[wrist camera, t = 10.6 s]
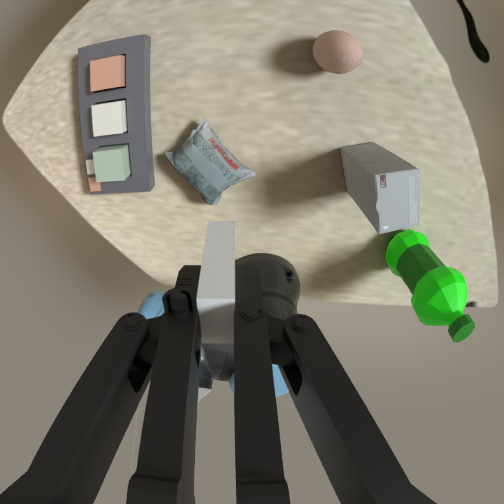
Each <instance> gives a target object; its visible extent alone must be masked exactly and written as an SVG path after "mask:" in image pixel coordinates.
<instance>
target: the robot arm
mask: <svg viewBox="0 0 504 504" xmlns="http://www.w3.org/2000/svg"><path fill="white" fill-rule="evenodd" d="M299 295H300V281H299V277H298V274H297V272H296V270H295V268H294V267H293V265H292V264H291V263H290V262H288V261H287V260H285V259H284V258H282V257H279V256H276V255H273V254H265V253H261V254H253V255H249V256H246V257H243V258H241V259H239V260H237V261H236V262H235V221H209V223H208V229H207V235H206V241H205V247H204V253H203V259H202V265H201V266H200V265H184V266H183V267H182V269H181V270H180V271H179V273H178V277H177V281H176V285H175V288H173V289H171V290H168V291H167V292H164V291H153V292H151V293H150V294H149V295H147V296H146V298H145V299H144V301H143V302H142V304H141V306H140V308H139V311H138V313H133V312H132V313H128V314H126V315H124V316H122V317H121V318H120V319H119V320H118V322H117V323H116V324H115V326H114V327H113V329H112V330H111V331H110V333H109V334H108V336H107V337H106V339H105V340H104V342H103V343H102V345H101V346H100V348H99V350H98V351H97V352H96V354H95V355H94V357H93V359H92V360H91V362H90V363H89V365H88V366H87V368H86V369H85V371H84V373H83V374H82V376H81V378H80V379H79V381H78V382H77V384H76V385H75V387H74V389H73V390H72V392H71V394H70V396H69V397H68V398H67V400H66V402H65V404H64V405H63V407H62V409H61V410H60V412H59V414H58V415H57V417H56V419H55V421H54V422H53V424H52V426H51V428H50V429H49V432H48V433H47V435H46V437H45V438H44V440H43V442H42V444H41V446H40V448H39V450H38V451H37V453H36V456H35V457H34V459H33V461H32V463H31V465H30V467H29V469H28V471H27V472H26V473H25V474H24V475H22V476H21V477H20V478H19V479H18V480H17V481H15V482H14V483H13V484H12V485H11V486H10V487H8V488H7V489H6V490H5V491H4V492H3V493H2V494H0V504H93V503H94V501H95V499H96V497H97V494H98V492H99V489H100V487H101V485H102V483H103V481H104V478H105V476H106V474H107V471H108V469H109V467H110V465H111V463H112V460H113V458H114V456H115V454H116V452H117V449H118V447H119V445H120V443H121V441H122V439H123V436H124V434H125V432H126V430H127V428H128V426H129V424H130V421H131V419H132V417H133V415H134V413H135V411H136V409H137V407H138V411H137V417H136V425H135V433H134V441H133V450H132V459H131V471H130V480H129V484H128V491H127V500H126V504H195V497H194V466H195V442H196V441H195V440H196V421H197V411H198V404H199V400H200V399H201V398H202V397H204V396H205V395H206V394H208V393H209V392H210V391H211V388H212V381H213V379H214V380H221V381H227V382H229V384H230V388H231V389H232V391H233V393H234V412H235V459H236V460H235V465H236V499H237V504H290V497H289V490H288V485H287V482H286V480H285V478H284V471H283V462H282V453H281V443H280V433H279V424H278V415H277V405H276V397H278V396H281V395H283V394H286V393H288V392H290V395H291V397H292V399H293V402H294V404H295V406H296V408H297V410H298V412H299V415H300V417H301V419H302V421H303V423H304V426H305V428H306V430H307V432H308V434H309V437H310V439H311V441H312V443H313V445H314V448H315V450H316V452H317V454H318V456H319V458H320V461H321V463H322V465H323V467H324V469H325V471H326V473H327V475H328V477H329V480H330V482H331V484H332V486H333V488H334V490H335V492H336V495H337V496H338V499H339V501H340V503H341V504H437V503H435V502H434V501H432V500H431V499H430V498H429V497H427V496H426V495H425V494H423V493H422V492H421V491H419V490H418V489H417V488H416V487H414V486H413V485H412V484H411V483H410V481H409V480H408V478H407V476H406V474H405V473H404V471H403V469H402V467H401V466H400V464H399V462H398V460H397V459H396V457H395V455H394V453H393V452H392V450H391V448H390V446H389V445H388V443H387V441H386V440H385V438H384V436H383V435H382V433H381V431H380V429H379V428H378V426H377V424H376V423H375V421H374V419H373V417H372V416H371V414H370V412H369V411H368V409H367V407H366V405H365V404H364V402H363V400H362V399H361V397H360V395H359V394H358V392H357V390H356V389H355V387H354V385H353V384H352V382H351V380H350V379H349V377H348V375H347V373H346V372H345V370H344V368H343V367H342V365H341V364H340V362H339V360H338V358H337V357H336V355H335V354H334V352H333V350H332V348H331V347H330V345H329V344H328V342H327V341H326V339H325V337H324V335H323V334H322V332H321V330H320V329H319V327H318V326H317V324H316V322H315V321H314V320H313V319H312V318H311V317H309V316H307V315H302V314H298V313H297V303H298V299H299Z"/></svg>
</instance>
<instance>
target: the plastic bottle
mask: <svg viewBox="0 0 504 504" xmlns="http://www.w3.org/2000/svg"><path fill="white" fill-rule="evenodd" d="M385 259H386V262H387V264H388V266H389V268H390V269H391V271H392V273H393V274H395V275H397V276H400V277H401V278H402V279H403V281H404V282H405V284H406V285H407V287H408V288H409V290H410V292H411V293H412V295H413V296H412V299H411V302H412V306H413V308H414V310H415V312H416V314H417V316H418V318H419V320H420V322H422V323H423V324H425V325H433V326H445V325H448V327H449V329H448V332H449V335H450V336H451V338H452V339H453V341H454V342H460V341H462V340H464V339H466V338H467V337H468V336H469V335H470V334H471V333H472V331H473V329H474V328H475V325H474V322H473V320H472V319H471V318H470V316H469V315H465V314H464V313H463V310H464V307H465V304H466V301H467V297H468V291H467V286H466V282H465V278H464V276H463V275H462V274H461V273H460V272H459V271H458V270H456V269H454V268H451V267H447V266H445V265H444V264H443V263H442V262H441V260H440V259H439V258H438V257H437V256H436V255H435V253H434V252H433V251H432V250H431V248H430V245H429V243H428V240H427V238H426V236H425V235H424V234H422V233H419V232H416V231H413V230H410V229H409V230H406V231H403V232H401V233H398V234H396V235H395V236H394V238H393V239H392V240H391V241H390V242H389V243H388V247H387V251H386V256H385Z"/></svg>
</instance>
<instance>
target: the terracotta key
mask: <svg viewBox="0 0 504 504" xmlns="http://www.w3.org/2000/svg"><path fill="white" fill-rule="evenodd" d="M90 86H91V92H92V91H98V90H104V89H110V88H117V87H123V86H126V56H123V55H117V56H112V57H107V58H102V59H98V60H93V61H90Z"/></svg>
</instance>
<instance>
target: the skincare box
mask: <svg viewBox="0 0 504 504" xmlns="http://www.w3.org/2000/svg"><path fill="white" fill-rule="evenodd" d="M340 151H341V157H342V163H343V169H344V176H345V182H346V189H347V192H348V193H349V195H350V196H351V197H352V198H353V200H354V201H355V202H356V204H357V205H358V206H359V208H360V209H361V210H362V212H363V213H364V214H365V216H366V217H367V218H368V220H369V221H370V222H371V224H372V225H373V227H374V228H375V229H376V231H377V232H378V234H383V233H387V232H391V231H395V230H400V229H404V228H409V227H413V226H417V225H419V204H420V193H419V169H418V168H416V167H414V166H413V165H411V164H410V163H408V162H406V161H405V160H403V159H402V158H400V157H398V156H397V155H395V154H393V153H392V152H390V151H388V150H386V149H385V148H383V147H381V146H379V145H378V144H376V143H374V142H371V143H365V144H359V145H353V146H347V147H342V148H340Z"/></svg>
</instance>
